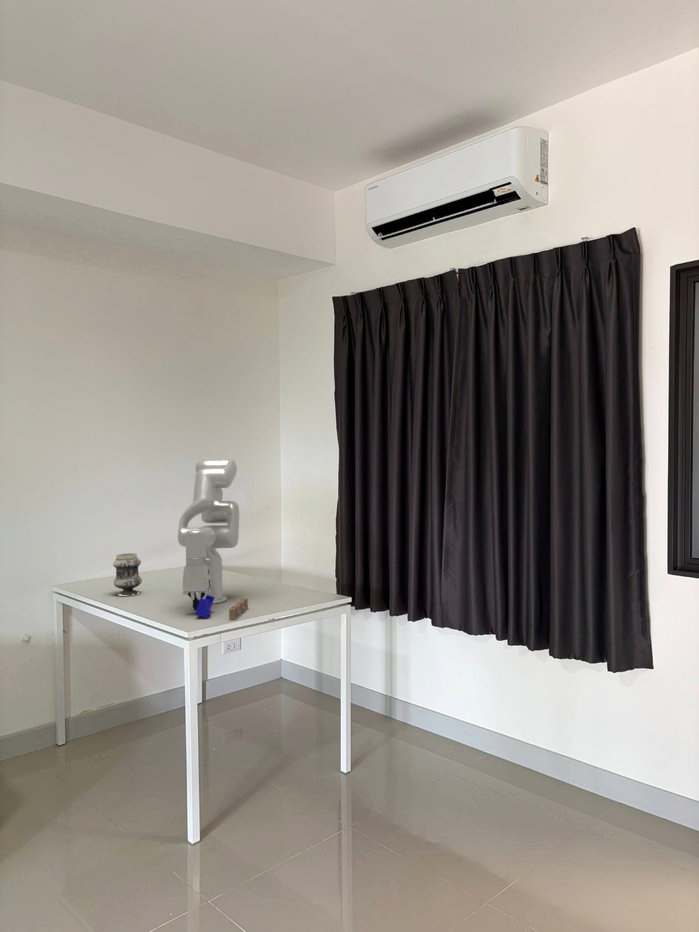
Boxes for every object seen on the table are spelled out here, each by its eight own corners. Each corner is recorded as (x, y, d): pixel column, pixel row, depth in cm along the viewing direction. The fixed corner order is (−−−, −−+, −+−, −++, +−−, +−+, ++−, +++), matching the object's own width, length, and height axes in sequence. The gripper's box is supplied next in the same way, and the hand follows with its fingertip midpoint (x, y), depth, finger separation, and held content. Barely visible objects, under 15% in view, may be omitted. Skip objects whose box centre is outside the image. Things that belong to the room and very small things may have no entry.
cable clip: (206, 617, 259) (211, 602, 259) (195, 613, 259) (200, 598, 259) (213, 613, 271) (218, 598, 271) (202, 609, 271) (207, 594, 271)
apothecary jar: (129, 590, 320) (128, 551, 320) (147, 593, 313) (146, 553, 313) (107, 595, 310) (106, 555, 309) (126, 598, 303) (125, 556, 303)
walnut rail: (242, 608, 276) (242, 598, 276) (247, 608, 276) (247, 598, 276) (229, 620, 256) (229, 609, 256) (234, 620, 256) (234, 609, 256)
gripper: (217, 560, 270) (219, 607, 270) (180, 560, 271) (181, 607, 271) (212, 563, 262) (213, 611, 262) (173, 563, 264) (174, 612, 264)
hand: (197, 609), depth 267 cm, fingers closed
